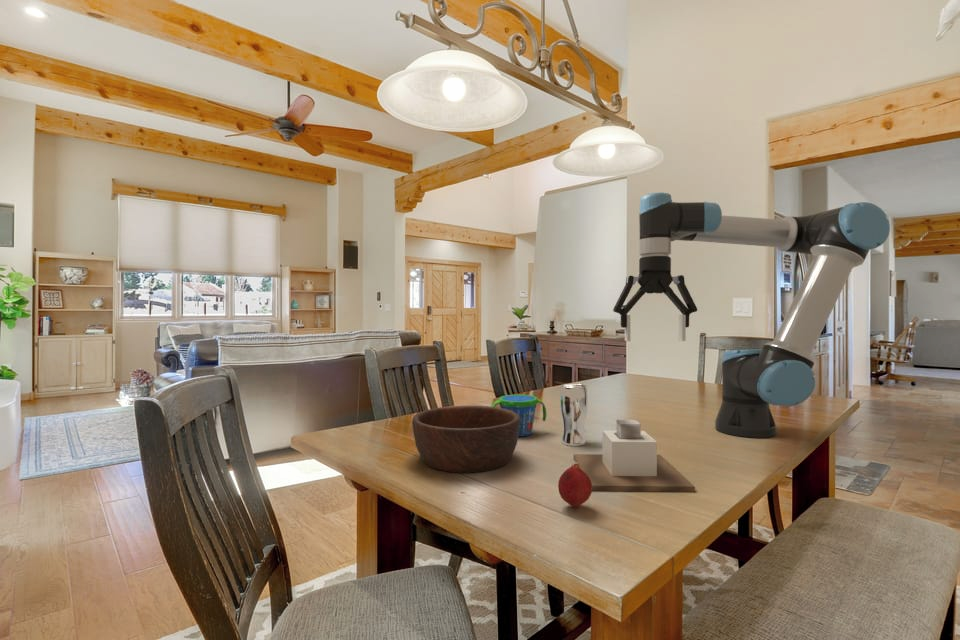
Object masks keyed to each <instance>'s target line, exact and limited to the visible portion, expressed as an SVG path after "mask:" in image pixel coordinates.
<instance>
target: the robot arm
mask: <svg viewBox="0 0 960 640" xmlns="http://www.w3.org/2000/svg"><path fill="white" fill-rule="evenodd" d="M722 213H723V212H722V209H721V206H720V205H719V204H718V203H716V202H707V201H703V202H699V201H698V202H696V201H695V202H675V201H673V200H672V195H671V194H670V193H668V192H652V193H647V194H645V195H643V196H642V197H641V198H640V201H639V211H638V216H639V217H638V219H639V221H638V222H639V249H638V251H639V252H638V253H639V256H641V257H640V258H638V259H639V263H638V265H639V267H638V270H639V271H638V273H639V274H638V276H633V275H628V276H627V277H626V279H625V285H624V287H623V289H622V291H621V293H620V295H619V297H618V299H617V301H616V303H615V304H614V307H613V309H612V311H613V312H614V313H617V314H619V315H620V327H621V328H624V341H625V342H630V341H631V315H630V314H628V313H629V312H630V311H631V310H632V308H634V306H635V305H636V304H637V303H638V301H640V299H641V298H642V297H643V296H644V295H645V294H664V295H665V296H667V298H668V299H669V300H670V301H671V302H672V304H673V305H674V306H675V307H676V308H677V310H679V313H681V314H678V336H677V337H678V338H677V339H678V341H681V342H686V333H687V332H686V331H687V330H686V328H689V327H690V315H691V314H693V313H696V312H697V311H698V307H697V306H696V304H695V303H696V302H695V301H694V300H693V297H692V296H691V295H692V294H691V293H690V291H689V290H688V287H687V285H686V283H685V275H683V274H679V275H677V276H672V273H671V272H672V258H671V257H670V255H671V254H672V242H674V241H685V242H686V241H687V242H689V241H690V242H702V243H703V242H705V243H715V244H717V243H718V244H730V245H740V246H741V245H744V246H755V247H756V246H757V247H758V246H759V247H771V248H776V249H777V250H778V251H779V252H789V253H797V254H804V255H812V256H813V258H812V260H811V263H810V265H809V266H808V268H807V271H806V273H805V275H804V278H803V280H802V282H801V283H800V285H799V287H798V289H797V292H796V294H794V295H795V296H794V298H793V300H792V302H791V304H790V306H789V308H788V310H787V312H786V314H785V316H784V318H783V321H782V322H781V325H780V326H779V329H778V331H777V333H776V334H775V337H774V339H773V340H772V341H769V342H767V343H764V345H763V346H762V349H756V348H755V349H728V350H726V351H724V352H723V355H722V361H721V366H722V367H721V368H722V369H721V377H722V379H721V383H722V384H721V385H722V386H721V390H722V391H721V397H722V398H721V399H722V400H721V405H720V407H719V410H718V412H717V415H716V418H715V423H714V428H715V430H717V431H718V432H720V433H724V434H727V435H731V436H737V437H743V438H755V439H756V438H761V439H762V438H772V437H775V436H776V435H777V425H776V423H775V419H774V417H773V414H772V411H771V408H770V405H773V406H780V407H794V406H798V405H800V404H802V403H804V402H805V401H806V400H808V399H809V397H811V395H812V394H813V392H814V390H815V387H816V378H815V373H814V371H813V370H812V369H813V368H814V365H815V360H814V358H813V357H812V353H813V351H814V349H815V346H816V345H817V344H818V343H817V342H818V340H819V338H820V336H821V334H822V332H823V330H824V328H825V326H826V324H827V321H829V317H830V315H831V314H832V312H833V309H834V308H835V306H836V303H837V301H838V299H839V297H840V294H841V293H842V291H843V289H844V286H845V284H846V282H847V281H848V278H849V276H850V275H851V272H852V270H853V269H854V268H856V267H859V266H861V265H863V264H864V262H865V259H866V258H867V256H868V254H869V252H870V250H875V249H876V248H878V247H880V246H882V245H883V244H884V243H885V242H886V241H887V239H888V237H889V236H890V232H891V231H890V230H891V225H890V221H889V219H888V218H887V214H886V212H885V211H884V210H883V209H882V208H881V207H879V206H877V205H876V204H874V203H871V202H866V201H865V202H862V201H861V202H855V203H849V204H845V205H844V206H841V207H837V208H833V209H829V210H825V211H821V212H817V213H813V214H809V215H803V216H789V215H788V216H786V217H783V218H781V219H776V218H765V217H764V218H762V217H749V216H748V217H747V216H736V215H735V216H734V215H722ZM672 283H673V284H674V285H676V287H677V290H678V292H679V294H680V296H681V297H682V299H683V301H684V302H683V301H682V300H681V299H680V297H678V296H677V294H676V293H675V292H674V290H673V288H672V287H670V286H671V284H672ZM636 284H638V285H639V286H640V287H639V288H638V289H637V291H636V293H634V295H633V296H632V297H631V298H630V300H628V302H627V303H626V300H627V298H628V296H629V294H630V293H631V291H632V288H633V286H634V285H636ZM625 303H626V304H625ZM624 304H625V305H624ZM623 306H624V307H623Z"/></svg>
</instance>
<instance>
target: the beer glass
mask: <svg viewBox="0 0 960 640" xmlns="http://www.w3.org/2000/svg"><path fill="white" fill-rule="evenodd" d="M559 396H560V398H559V402H560V403H559V404H560V414H561V415H560V416H561V421H562V425H563V426H562V427H563V431H562V433H563V434H562V439H561V442H562V444H563V445H565V446H569V447H583V446H585V445H586V442H587V441H586V436H585V425H586V417H587V413H588V412H587V411H588V388H587V385H585V384H582V383H564V384H561V385H560V395H559Z"/></svg>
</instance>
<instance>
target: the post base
mask: <svg viewBox="0 0 960 640" xmlns="http://www.w3.org/2000/svg"><path fill="white" fill-rule="evenodd" d="M641 429H642V428H641V423H640V422H639V421H637V420H636V419H616V431H617V432H616V436H617V437H618V438H619V439H641V431H642V430H641ZM573 460H574V463H575V462H576V463H577V462H578V463H579V464H580V466H579V468H580V469H581V470H583V471H584V472H585V473H586V474H587V475H588V477H589V478H590V481H591V483H592V492H594V491H595V492H596V491H597V492H598V491H599V492H678V493H679V492H680V493H681V492H685V493H686V492H688V493H690V492H692V493H693V492H696V487H695V485H694V484H693V483H692V482H691V481H690V480H688V478H686V477H685V476H684V475H683V474H682V473H681V472H680V471H679V470H678V469H677V468H675V467H674V465H673V464H671V463H670V462H669V461H668V460H667V459H666V458H665V457H664V456H663V455H661V454H657V476H612V475H611V474H610V472H609V471H608V469H607V468H606V466H605V465H604V463H603V453H602V454H600V453H599V454H597V453H596V454H595V453H593V454H592V453H589V454H588V453H587V454H586V453H581V454H580V453H574V454H573Z"/></svg>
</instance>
